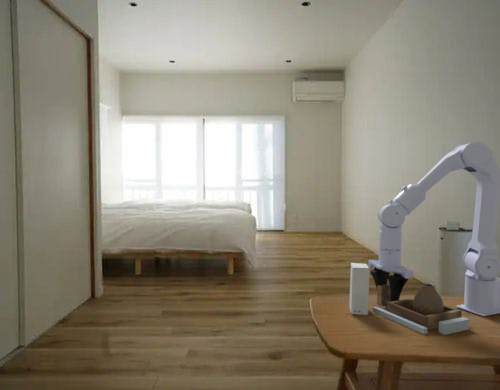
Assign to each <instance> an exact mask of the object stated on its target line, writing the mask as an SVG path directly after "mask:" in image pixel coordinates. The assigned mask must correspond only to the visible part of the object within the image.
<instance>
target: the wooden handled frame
mask: <svg viewBox="0 0 500 390" xmlns="http://www.w3.org/2000/svg"><path fill="white" fill-rule="evenodd" d="M413 299H414V297H412V298H405V299H399V300H395V301H391V298H390V284H389V283H387V284H383V285H377V288H376V304H377V305H382V306H383V305H385V306H386V311H388V312H390V313H393V314H395V315H398V316H400V317H402V318H405V319H407V320H409V321H412V322H414V323H417V324H419V325H421V326H424V327H426V328H428V330H427V331H430V330H434V329H439V322H440V321H445V320H450V319H456V318H461V317H462V309H459V308H458V309H457V308H455V307H453V306H449V305H445V304H444V311H443V312H442V313H436V314H431V315H422V314H420V313H417V312H415V311H413Z"/></svg>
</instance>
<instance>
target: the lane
mask: <svg viewBox="0 0 500 390" xmlns="http://www.w3.org/2000/svg"><path fill="white" fill-rule="evenodd" d="M372 312H373V313H374V314H377V315H378V316H382V317H384V318H386V319H389V320H390V321H393V322H394V323H397V324H399V325H402V326H404V327H406V328H409V329H410V330H413V331H415V332H417V333H419V334H422V335H427V334H428V331H429V330H428V328H426V327H424V326H421V325H419V324H417V323H414V322H412V321H409V320H407V319H405V318H402V317H400V316H398V315H395V314H393V313H390V312H388V311H387V309H383V308H381V307H379V306H373V307H372ZM469 330H470V318H467V317H464V316H461V318H456V319H450V320H445V321H440V322H439V328H438V333H440V334H441V335H443V336H446V335H450V334H455V333H459V332H464V331H469Z"/></svg>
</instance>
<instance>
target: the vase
mask: <svg viewBox="0 0 500 390" xmlns="http://www.w3.org/2000/svg"><path fill="white" fill-rule="evenodd" d="M413 298H414V299H413V311H415V312H417V313H420V314H422V315H431V314H436V313H442V312H443V311H444V305H445V304H444V301H443V298H442V297H441V295H440V293H439V292H438V290H437V289H436V288H435V285H434V284H432V283H423V284H422V286H421V288H420V289H419V290H418V291H417V292H416V293H415V294H414V297H413Z"/></svg>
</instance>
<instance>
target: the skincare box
mask: <svg viewBox="0 0 500 390" xmlns="http://www.w3.org/2000/svg"><path fill="white" fill-rule="evenodd" d="M349 273H350V277H349V278H350V279H349V302H348V303H349V305H348V307H349V310H350V314H351V315H361V316H368V315H369V299H370V298H369V294H370V293H369V291H370V267H368V264H367V263H359V262H350V272H349Z"/></svg>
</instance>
